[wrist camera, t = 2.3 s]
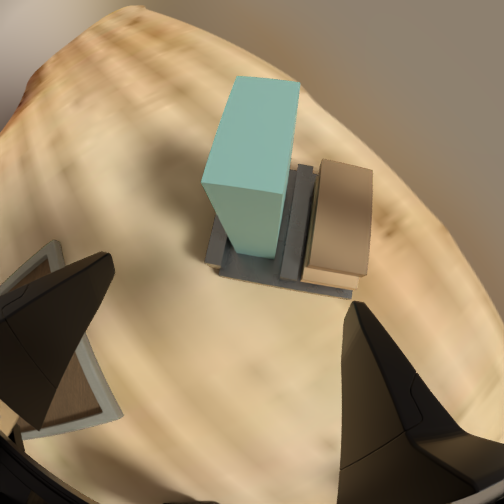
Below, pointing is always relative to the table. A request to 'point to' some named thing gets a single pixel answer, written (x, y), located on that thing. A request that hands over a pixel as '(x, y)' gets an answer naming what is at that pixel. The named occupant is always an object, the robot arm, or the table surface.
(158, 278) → the table surface
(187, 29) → the table surface
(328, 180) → the offcut top
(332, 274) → the offcut middle
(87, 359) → the picture frame
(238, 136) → the teal rectangular block
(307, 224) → the rack
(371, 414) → the robot arm
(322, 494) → the table surface
